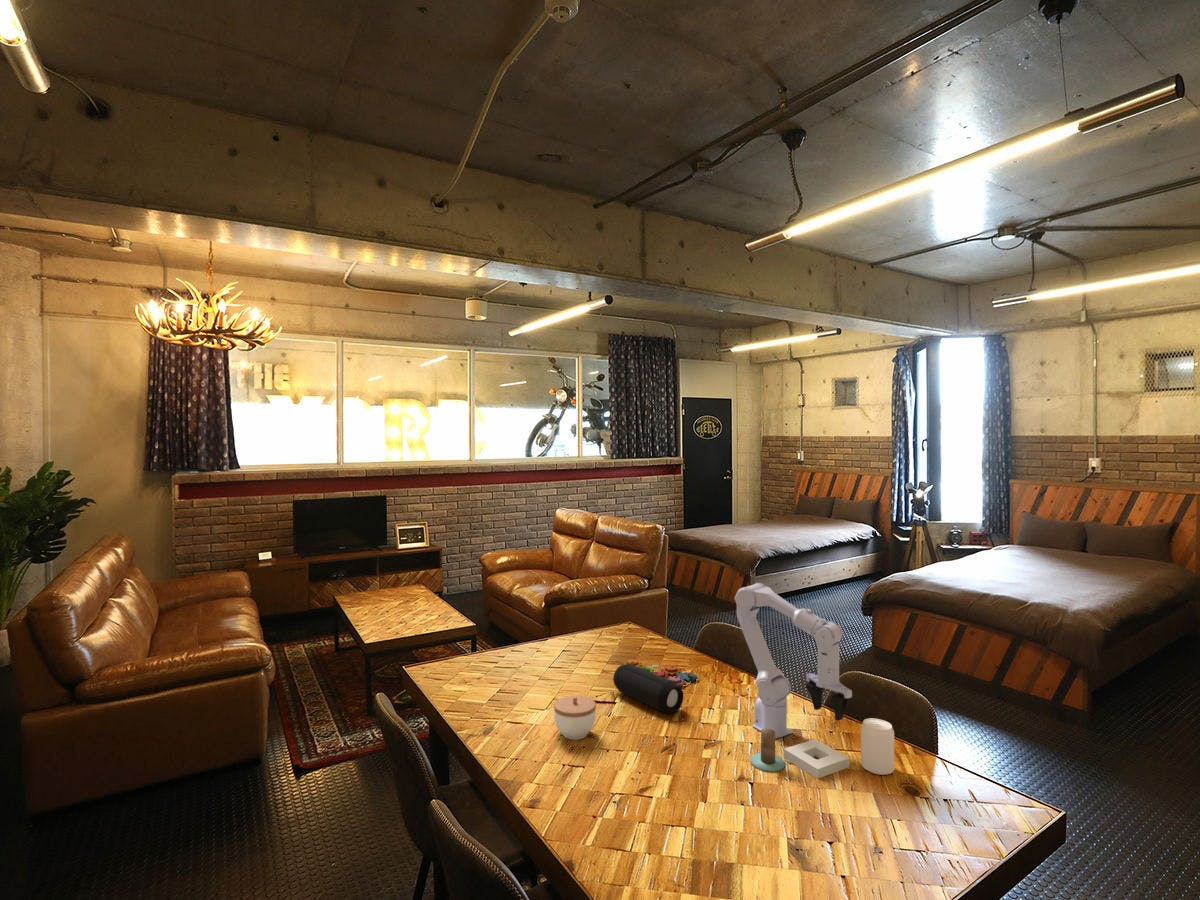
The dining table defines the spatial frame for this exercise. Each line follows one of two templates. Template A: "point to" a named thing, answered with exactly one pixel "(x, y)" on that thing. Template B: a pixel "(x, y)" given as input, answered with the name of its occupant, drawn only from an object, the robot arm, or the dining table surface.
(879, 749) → the beverage can
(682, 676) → the gear puzzle
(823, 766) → the block
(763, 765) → the teal pad
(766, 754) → the walnut dowel
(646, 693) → the portable speaker
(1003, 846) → the dining table surface
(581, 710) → the lidded bowl
